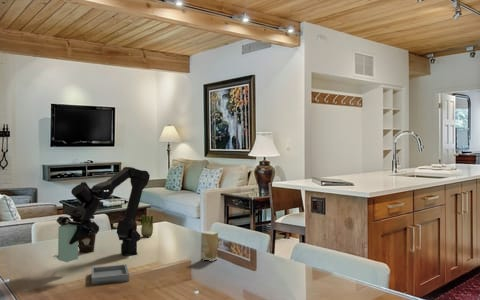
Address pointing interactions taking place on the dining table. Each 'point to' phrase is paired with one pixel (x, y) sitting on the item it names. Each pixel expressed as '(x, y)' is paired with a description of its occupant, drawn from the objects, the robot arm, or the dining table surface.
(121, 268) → the box
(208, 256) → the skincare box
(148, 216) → the fennel bulb
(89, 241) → the coffee mug
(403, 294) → the dining table surface
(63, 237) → the teal block
